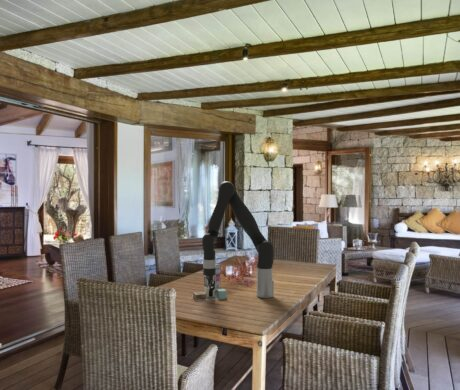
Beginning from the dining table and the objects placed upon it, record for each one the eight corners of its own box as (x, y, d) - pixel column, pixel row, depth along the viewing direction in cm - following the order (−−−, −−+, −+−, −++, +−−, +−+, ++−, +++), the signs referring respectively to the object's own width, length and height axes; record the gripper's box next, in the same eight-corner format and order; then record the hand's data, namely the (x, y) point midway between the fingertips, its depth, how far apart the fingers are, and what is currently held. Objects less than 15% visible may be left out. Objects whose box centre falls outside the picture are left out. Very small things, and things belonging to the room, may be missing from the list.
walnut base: (202, 296, 236) (202, 291, 236) (206, 299, 230) (206, 294, 230) (193, 297, 234) (193, 292, 234) (196, 300, 228) (196, 294, 228)
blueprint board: (218, 293, 243) (218, 293, 243) (225, 299, 231) (225, 298, 231) (190, 296, 237) (190, 295, 237) (196, 302, 225) (196, 301, 225)
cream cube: (212, 294, 240) (212, 286, 240) (214, 296, 236) (214, 288, 236) (204, 295, 239) (204, 286, 239) (206, 297, 234) (206, 288, 234)
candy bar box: (220, 290, 251) (221, 264, 251) (214, 292, 248) (214, 265, 248) (210, 287, 260) (210, 262, 259) (204, 288, 256) (204, 263, 256)
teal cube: (223, 296, 237) (223, 288, 236) (226, 298, 232) (226, 290, 232) (216, 297, 235) (216, 289, 235) (219, 299, 231) (219, 291, 231)
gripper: (219, 268, 232) (219, 297, 232) (211, 264, 245) (211, 291, 245) (207, 269, 229) (207, 299, 229) (199, 265, 242) (199, 292, 243)
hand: (209, 295), depth 237 cm, fingers closed on cream cube, 5 cm apart
